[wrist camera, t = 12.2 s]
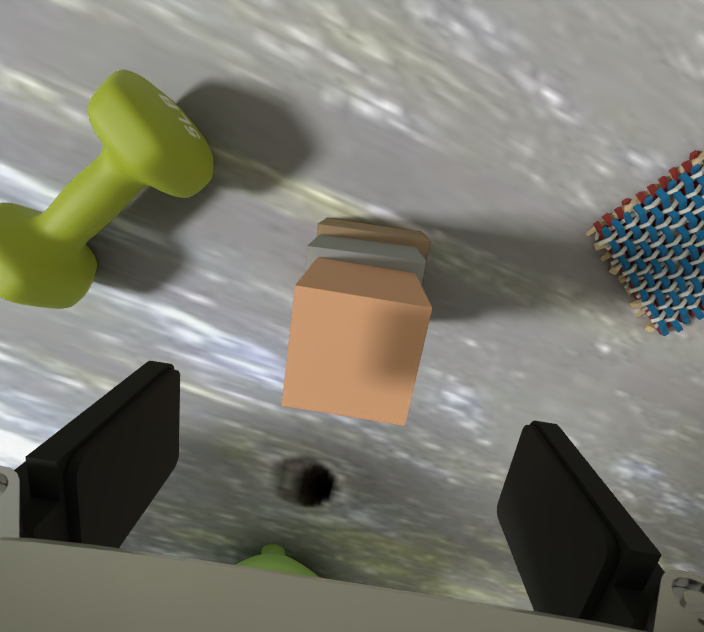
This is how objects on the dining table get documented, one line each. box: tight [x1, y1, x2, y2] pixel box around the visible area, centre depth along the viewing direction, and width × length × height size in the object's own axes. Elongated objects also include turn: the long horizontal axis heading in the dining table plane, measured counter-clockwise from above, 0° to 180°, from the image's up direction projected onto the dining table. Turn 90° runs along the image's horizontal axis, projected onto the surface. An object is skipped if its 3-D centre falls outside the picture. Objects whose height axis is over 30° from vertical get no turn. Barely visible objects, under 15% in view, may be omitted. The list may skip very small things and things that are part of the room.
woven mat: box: [586, 150, 704, 336], centre depth 28 cm, size 10×11×2 cm
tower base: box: [317, 218, 430, 260], centre depth 28 cm, size 7×7×5 cm
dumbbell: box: [0, 70, 214, 309], centre depth 26 cm, size 16×8×7 cm, turn 127°
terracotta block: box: [282, 257, 432, 426], centre depth 18 cm, size 5×5×6 cm
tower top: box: [305, 234, 426, 286], centre depth 23 cm, size 6×6×5 cm
